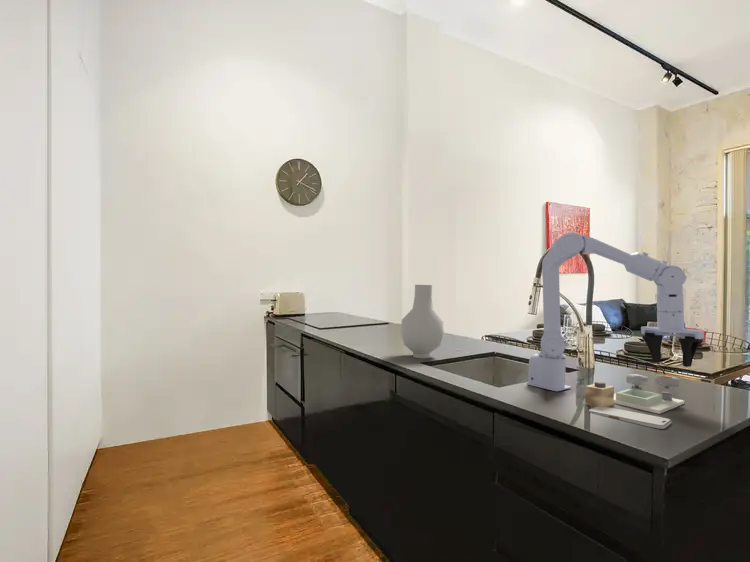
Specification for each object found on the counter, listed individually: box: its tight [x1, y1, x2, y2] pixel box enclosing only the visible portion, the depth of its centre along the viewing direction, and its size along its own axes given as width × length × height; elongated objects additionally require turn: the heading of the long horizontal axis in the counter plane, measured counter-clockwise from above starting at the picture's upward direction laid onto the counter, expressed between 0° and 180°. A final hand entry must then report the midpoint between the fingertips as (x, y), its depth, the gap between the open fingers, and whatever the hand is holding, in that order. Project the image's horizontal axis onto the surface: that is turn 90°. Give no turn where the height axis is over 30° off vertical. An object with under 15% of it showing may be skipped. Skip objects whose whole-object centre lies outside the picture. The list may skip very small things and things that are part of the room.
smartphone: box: [588, 406, 672, 430], centre depth 94 cm, size 7×1×15 cm
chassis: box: [614, 373, 685, 415], centre depth 107 cm, size 13×16×6 cm
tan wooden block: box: [584, 381, 615, 408], centre depth 104 cm, size 4×6×5 cm, turn 127°
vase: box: [400, 284, 445, 359], centre depth 163 cm, size 17×16×28 cm
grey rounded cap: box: [654, 374, 680, 390], centre depth 108 cm, size 5×5×3 cm
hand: (671, 364), depth 109 cm, fingers open, 7 cm apart
